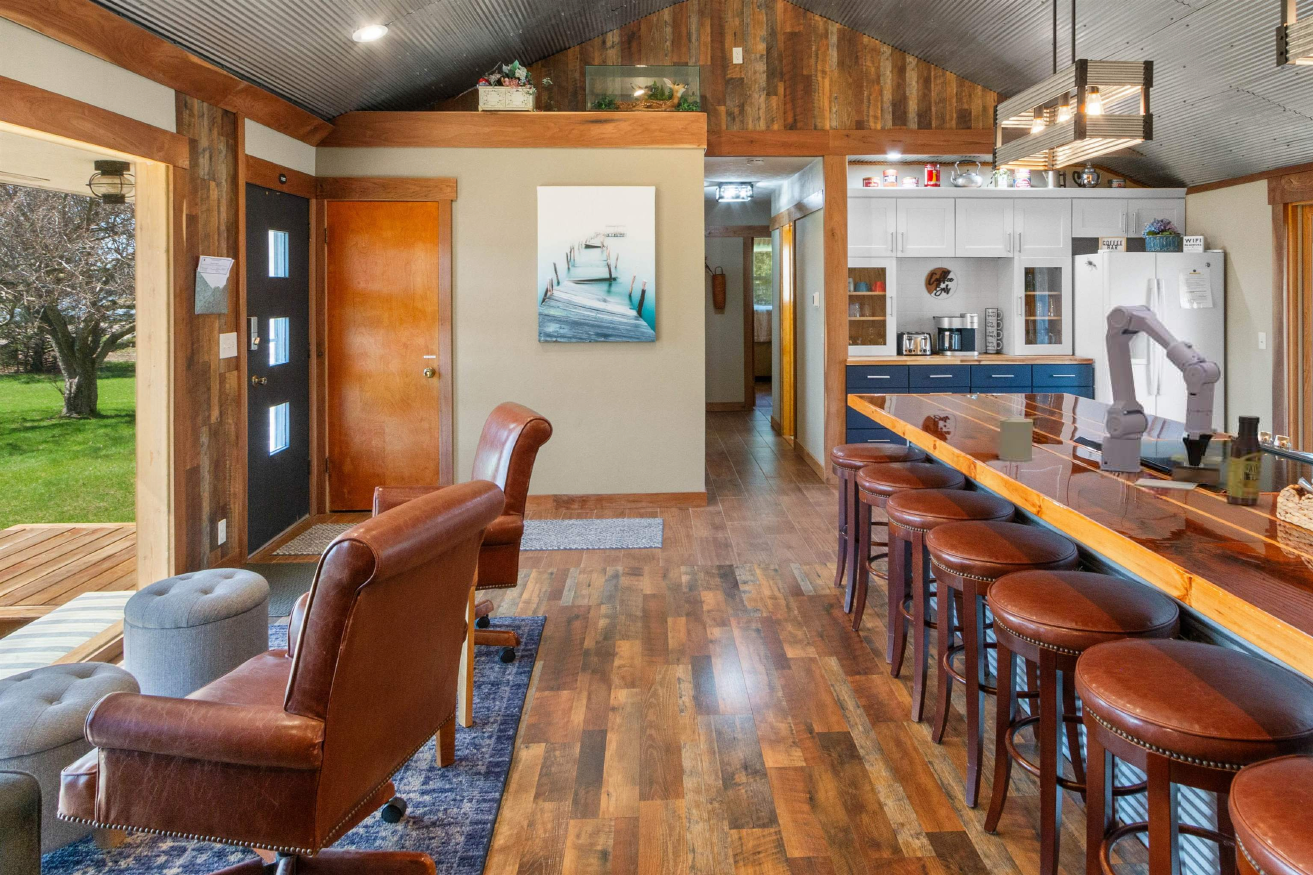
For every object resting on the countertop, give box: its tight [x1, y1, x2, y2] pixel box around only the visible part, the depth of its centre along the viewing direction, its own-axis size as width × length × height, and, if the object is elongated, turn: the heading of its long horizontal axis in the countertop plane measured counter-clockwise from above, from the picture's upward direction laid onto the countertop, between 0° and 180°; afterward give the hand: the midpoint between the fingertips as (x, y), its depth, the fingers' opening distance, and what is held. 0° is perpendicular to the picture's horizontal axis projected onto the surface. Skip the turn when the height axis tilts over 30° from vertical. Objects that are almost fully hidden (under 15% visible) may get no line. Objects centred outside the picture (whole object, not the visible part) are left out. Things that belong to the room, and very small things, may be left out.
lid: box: [1170, 453, 1223, 465], centre depth 239 cm, size 11×6×1 cm, turn 54°
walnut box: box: [1170, 465, 1221, 486], centre depth 240 cm, size 10×5×4 cm, turn 54°
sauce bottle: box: [1226, 415, 1263, 506], centre depth 214 cm, size 6×6×20 cm
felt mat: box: [1133, 477, 1199, 492], centre depth 237 cm, size 13×8×1 cm, turn 54°
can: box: [998, 417, 1034, 462], centre depth 279 cm, size 9×9×12 cm
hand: (1196, 464), depth 240 cm, fingers closed on lid, 6 cm apart
